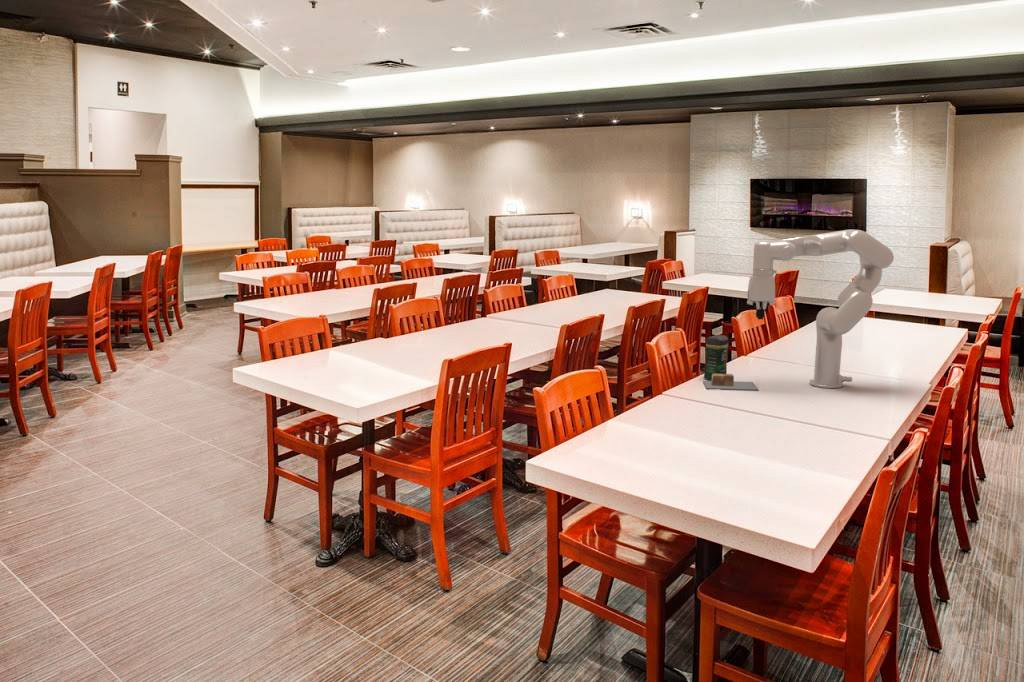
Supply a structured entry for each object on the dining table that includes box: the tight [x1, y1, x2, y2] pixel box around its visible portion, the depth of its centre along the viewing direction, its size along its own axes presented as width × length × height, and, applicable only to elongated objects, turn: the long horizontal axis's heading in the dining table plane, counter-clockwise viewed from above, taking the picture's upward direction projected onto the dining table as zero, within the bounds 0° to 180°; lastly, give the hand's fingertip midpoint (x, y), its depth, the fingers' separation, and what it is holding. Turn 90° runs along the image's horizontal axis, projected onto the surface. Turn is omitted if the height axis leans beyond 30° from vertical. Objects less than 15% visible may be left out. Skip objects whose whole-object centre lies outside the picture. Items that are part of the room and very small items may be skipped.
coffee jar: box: [703, 334, 729, 381], centre depth 315 cm, size 10×8×19 cm
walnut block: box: [711, 373, 735, 386], centre depth 304 cm, size 4×4×8 cm
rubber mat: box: [702, 380, 759, 392], centre depth 304 cm, size 20×13×1 cm, turn 83°
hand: (760, 318), depth 302 cm, fingers closed
